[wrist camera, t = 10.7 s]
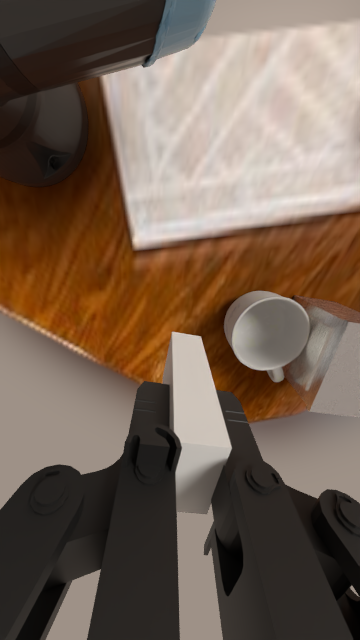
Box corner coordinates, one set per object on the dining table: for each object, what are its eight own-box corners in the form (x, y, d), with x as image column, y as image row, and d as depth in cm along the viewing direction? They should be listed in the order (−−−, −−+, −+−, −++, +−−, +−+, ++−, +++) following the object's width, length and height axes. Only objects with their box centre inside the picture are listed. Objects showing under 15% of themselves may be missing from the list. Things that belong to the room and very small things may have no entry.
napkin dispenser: (270, 361, 42) (308, 411, 30) (293, 293, 38) (348, 321, 26) (309, 366, 43) (362, 417, 31) (336, 301, 39) (409, 331, 27)
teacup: (217, 289, 37) (228, 304, 30) (286, 279, 37) (315, 292, 30) (223, 365, 42) (235, 395, 35) (284, 357, 42) (309, 384, 34)
